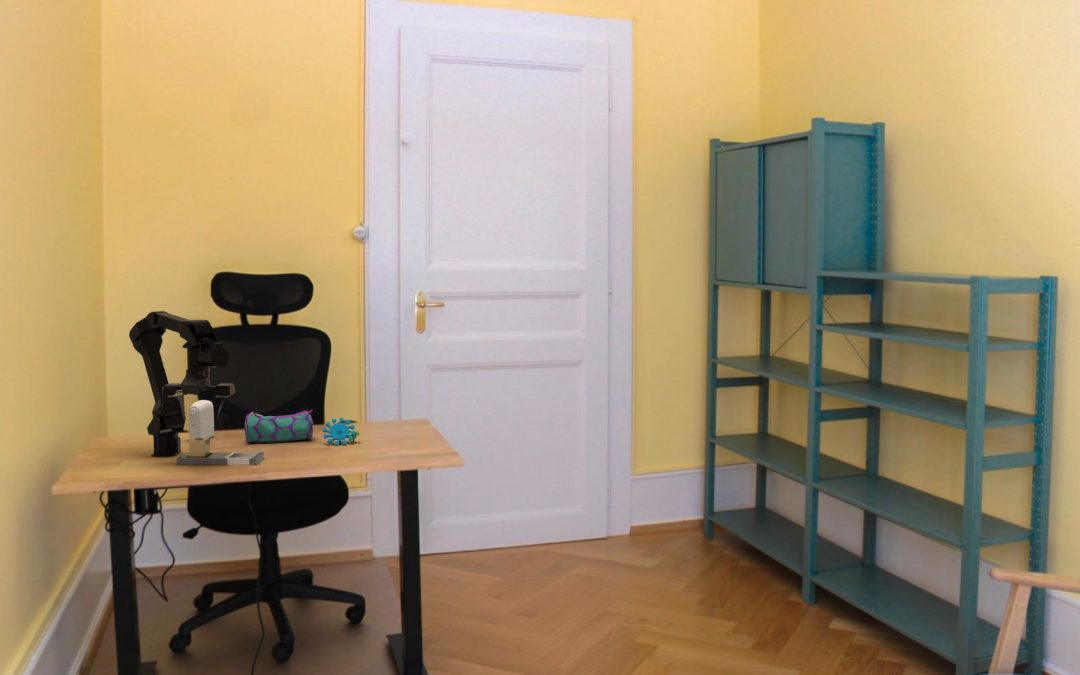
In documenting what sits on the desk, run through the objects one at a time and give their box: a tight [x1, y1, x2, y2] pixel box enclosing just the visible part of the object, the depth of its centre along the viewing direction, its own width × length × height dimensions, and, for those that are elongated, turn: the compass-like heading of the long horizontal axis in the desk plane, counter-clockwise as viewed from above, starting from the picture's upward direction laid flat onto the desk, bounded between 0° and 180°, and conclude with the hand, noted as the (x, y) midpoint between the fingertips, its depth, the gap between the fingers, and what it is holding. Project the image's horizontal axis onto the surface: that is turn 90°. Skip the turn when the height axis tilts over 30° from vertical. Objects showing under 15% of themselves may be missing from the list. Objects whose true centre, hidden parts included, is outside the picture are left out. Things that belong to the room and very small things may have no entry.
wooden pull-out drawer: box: [188, 437, 211, 458], centre depth 270 cm, size 4×4×7 cm
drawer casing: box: [176, 451, 265, 466], centre depth 270 cm, size 22×8×2 cm, turn 91°
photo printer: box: [188, 399, 215, 440], centre depth 301 cm, size 10×4×12 cm, turn 172°
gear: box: [322, 417, 360, 447], centre depth 297 cm, size 11×6×10 cm
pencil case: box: [243, 409, 314, 444], centre depth 299 cm, size 21×9×10 cm, turn 105°
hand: (199, 419), depth 270 cm, fingers open, 9 cm apart
